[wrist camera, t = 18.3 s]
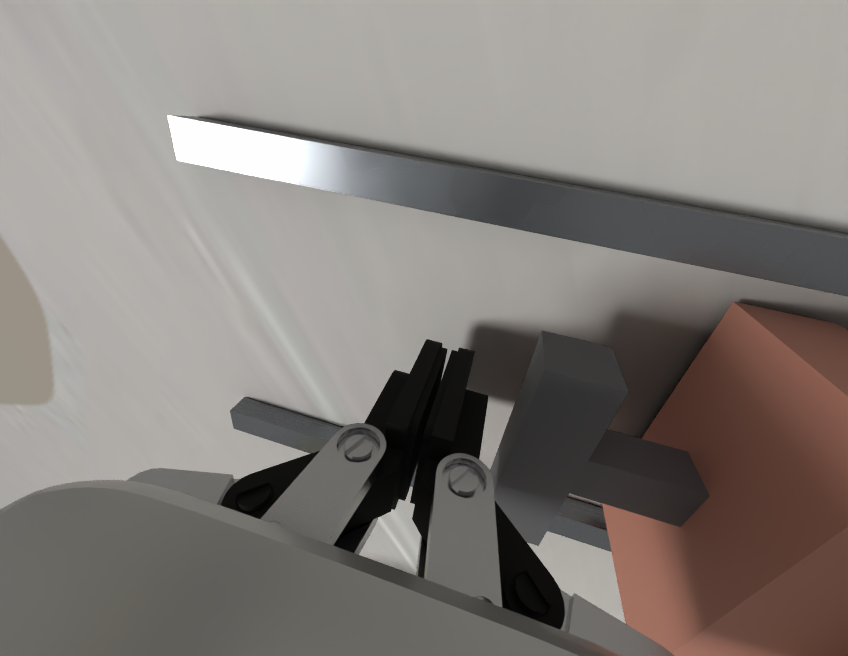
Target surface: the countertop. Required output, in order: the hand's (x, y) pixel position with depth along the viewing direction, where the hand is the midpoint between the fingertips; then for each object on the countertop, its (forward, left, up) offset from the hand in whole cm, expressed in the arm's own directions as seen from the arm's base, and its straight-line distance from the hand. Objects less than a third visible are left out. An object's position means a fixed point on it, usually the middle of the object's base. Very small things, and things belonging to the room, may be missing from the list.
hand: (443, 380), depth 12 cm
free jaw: (0, +6, -1) cm, 6 cm away
